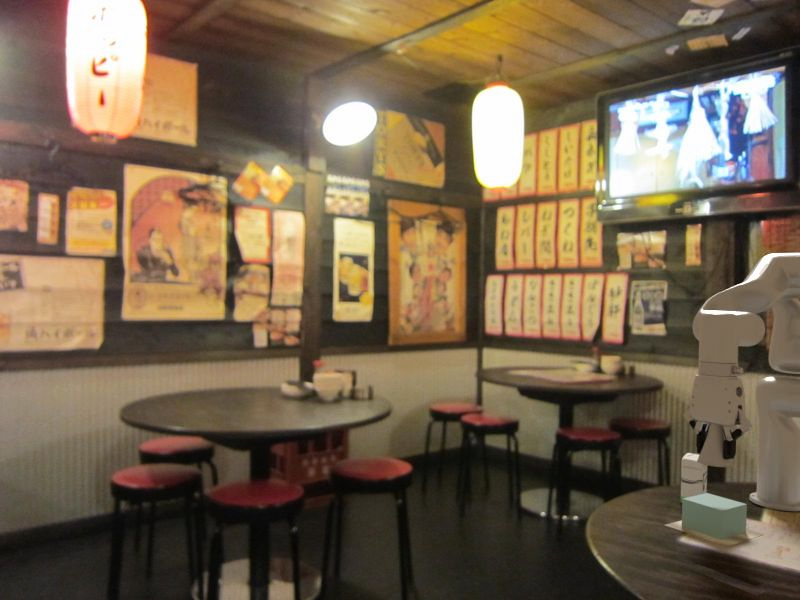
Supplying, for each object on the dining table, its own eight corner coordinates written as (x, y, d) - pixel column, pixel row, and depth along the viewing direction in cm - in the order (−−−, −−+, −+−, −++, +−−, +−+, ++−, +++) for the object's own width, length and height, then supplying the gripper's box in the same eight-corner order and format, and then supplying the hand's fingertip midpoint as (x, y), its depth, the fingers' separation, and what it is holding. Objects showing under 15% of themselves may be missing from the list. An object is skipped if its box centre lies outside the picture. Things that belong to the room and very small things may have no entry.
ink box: (701, 511, 156) (703, 461, 156) (679, 507, 159) (680, 458, 159) (706, 502, 163) (708, 455, 163) (685, 498, 166) (686, 452, 166)
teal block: (706, 519, 146) (706, 492, 146) (746, 532, 139) (746, 504, 139) (681, 526, 141) (682, 498, 141) (721, 540, 134) (722, 510, 134)
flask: (738, 469, 136) (739, 421, 136) (700, 467, 137) (702, 419, 137) (728, 461, 143) (729, 415, 143) (693, 458, 144) (694, 413, 144)
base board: (702, 520, 150) (702, 514, 150) (764, 540, 138) (764, 534, 138) (663, 530, 142) (664, 524, 142) (726, 552, 130) (726, 546, 130)
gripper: (767, 374, 135) (765, 462, 135) (691, 365, 149) (689, 445, 149) (747, 375, 131) (745, 467, 131) (671, 366, 145) (668, 449, 145)
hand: (715, 454), depth 140 cm, fingers closed on flask, 5 cm apart
